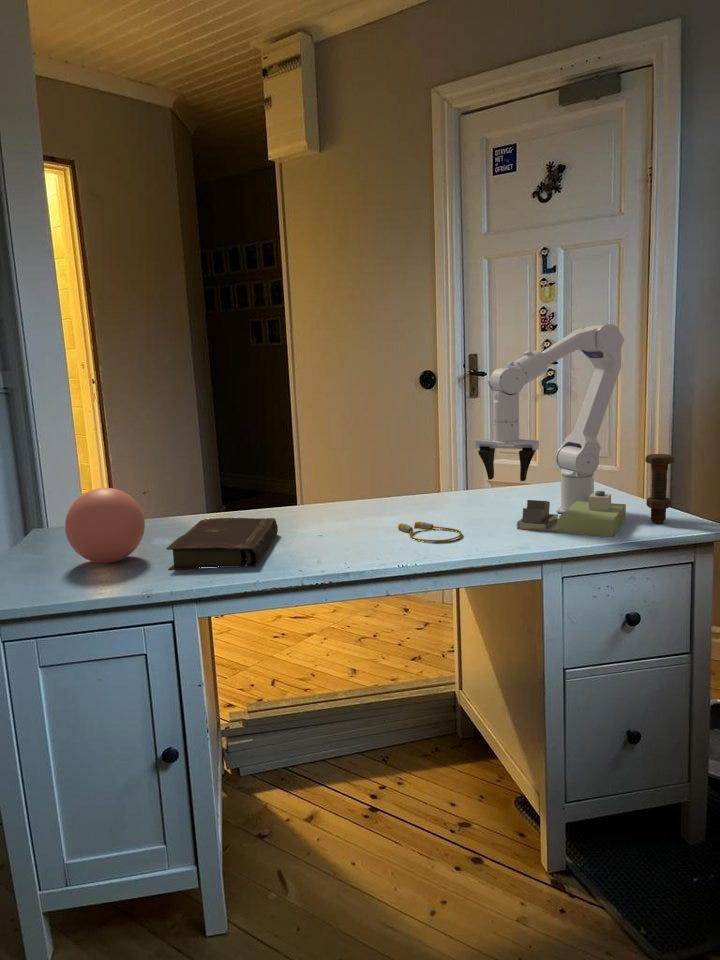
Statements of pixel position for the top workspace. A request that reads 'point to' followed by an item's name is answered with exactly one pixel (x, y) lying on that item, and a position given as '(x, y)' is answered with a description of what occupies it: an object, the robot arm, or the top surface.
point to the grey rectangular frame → (541, 524)
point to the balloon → (104, 525)
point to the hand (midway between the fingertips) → (506, 479)
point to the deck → (593, 516)
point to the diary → (223, 542)
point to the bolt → (659, 486)
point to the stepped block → (536, 511)
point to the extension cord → (426, 526)
